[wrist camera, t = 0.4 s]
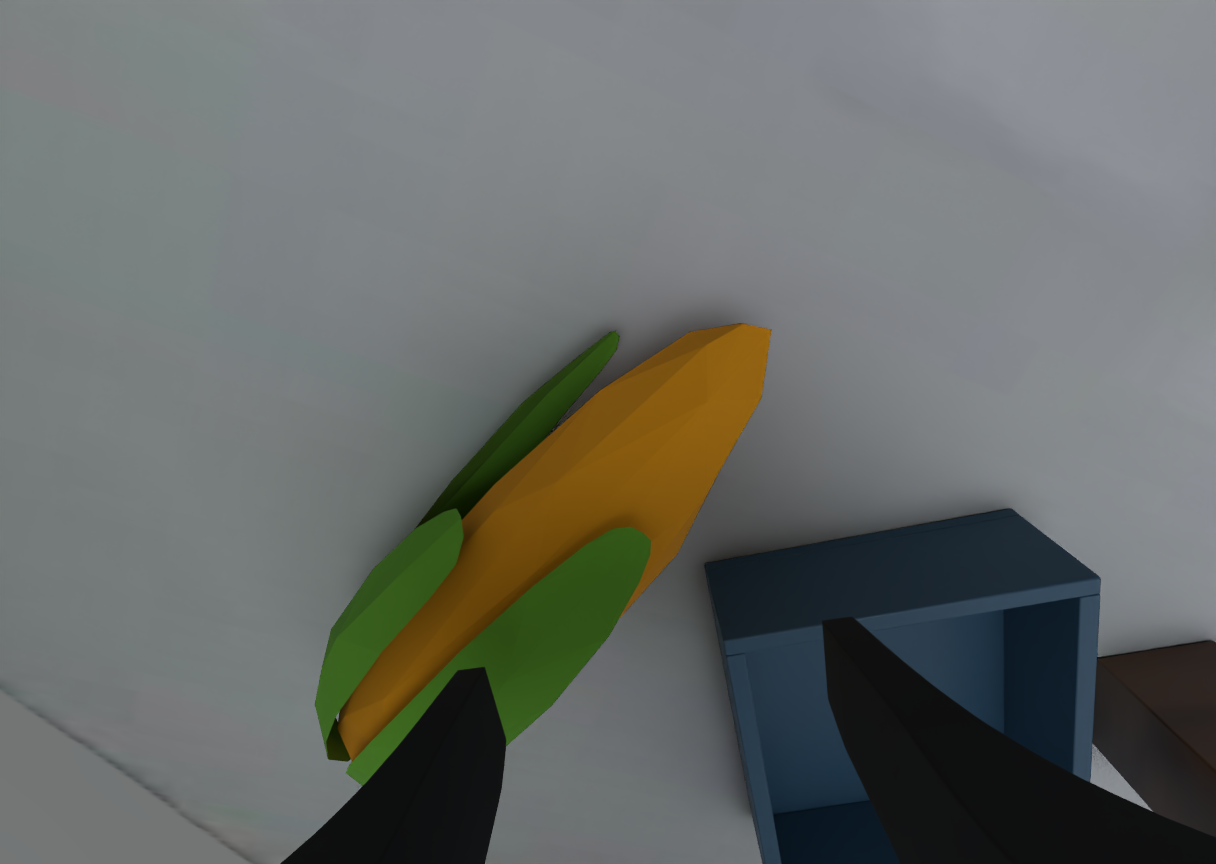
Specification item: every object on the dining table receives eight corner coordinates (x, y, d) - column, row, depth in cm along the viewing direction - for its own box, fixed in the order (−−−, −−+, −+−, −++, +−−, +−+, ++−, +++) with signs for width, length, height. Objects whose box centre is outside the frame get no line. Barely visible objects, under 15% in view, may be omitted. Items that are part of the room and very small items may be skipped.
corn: (200, 813, 18) (671, 238, 12) (308, 630, 25) (638, 214, 19) (425, 911, 20) (915, 454, 14) (465, 716, 27) (805, 360, 21)
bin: (1012, 778, 27) (1085, 885, 23) (751, 816, 28) (776, 925, 24) (1011, 508, 23) (1102, 577, 18) (703, 563, 24) (723, 641, 19)
